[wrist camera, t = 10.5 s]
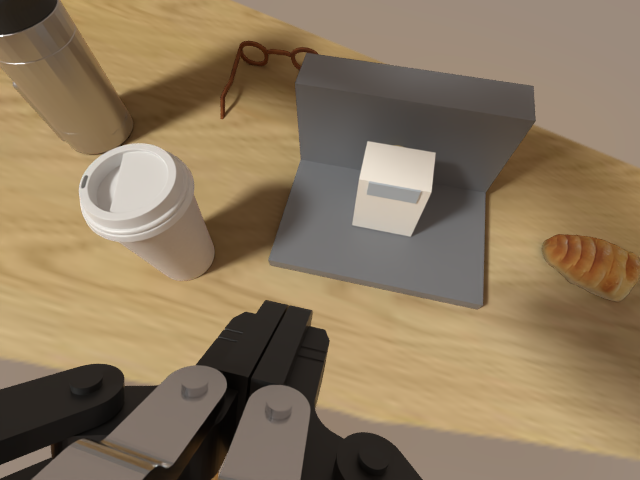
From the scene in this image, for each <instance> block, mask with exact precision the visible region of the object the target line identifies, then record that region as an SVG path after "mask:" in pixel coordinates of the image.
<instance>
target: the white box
mask: <svg viewBox="0 0 640 480" xmlns="http://www.w3.org/2000/svg"><path fill="white" fill-rule="evenodd" d="M435 154H436V153H434V152H428V151H423V150H417V149H411V148H405V147H399V146H393V145H387V144H381V143H376V142H370V141H367V146H366V150H365V155H364V159H363V164H362V168H361V173H360V177H359V183H358V190H357V196H356V203H355V209H354V216H353V223H352V225H354V226H359V227H364V228H369V229H374V230H379V231H384V232H389V233H394V234H400V235H405V236H410V237H411V235H412V233H413V231H414V229H415V227H416V224H417V222H418V220H419V218H420V216H421V214H422V212H423V209H424V207H425V205H426V203H427V201H428V199H429V197H430V194H431V192H432V182H433V173H434V164H435Z"/></svg>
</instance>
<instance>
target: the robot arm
mask: <svg viewBox="0 0 640 480" xmlns="http://www.w3.org/2000/svg"><path fill="white" fill-rule="evenodd" d="M0 67H1V68H2V69H3V70H4V72H5V73H6V74H7V75H8V76H9V77H10V78H11V79H12V81H13V86H14V88H15V89H16V90H17V91H18V92H19V93H20V94H21V96H22V97H23V98H24V99H25V100H26V101H27V102H28V103H29V104H30V106H31V107H32V108H33V109H34V110H35V111H36V112H37V113H38V114H39V116H40V117H41V118H42V119H43V120H44V121H45V122H46V123H47V124H48V126H49V127H50V128H51V129H52V130H53V131H54V132H55V133H56V134H57V136H58V137H59V138H60V139H61V140H63V141H66V142H67V143H68V144H69V145H70V146H71V147H72V148H73V149H74V150H76V151H78V152H80V153H84V154H99V153H104V152H107V151H110V150H112V149H114V148H116V147H118V146H119V145H121V144H122V143H123V142H124V141H125V140H126V139H127V138H128V137H129V135H130V134H131V131H132V129H133V120H132V117H131V115H130V114H129V112H128V110H127V109H126V107H125V106H124V104H123V102H122V101H121V99H120V97H119V96H118V94H117V92H116V91H115V89H114V87H113V86H112V84H111V82H110V81H109V79H108V77H107V76H106V74H105V73H104V71H103V69H102V68H101V66H100V64H99V63H98V61H97V60H96V58H95V56H94V55H93V53H92V51H91V50H90V48H89V47H88V45H87V43H86V42H85V40H84V38H83V37H82V35H81V33H80V32H79V30H78V29H77V27H76V25H75V24H74V22H73V21H72V19H71V17H70V16H69V14H68V12H67V11H66V9H65V7H64V6H63V4H62V3H61V1H60V0H0ZM312 313H313V311H312V310H309V309H304V308H300V307H295V306H291V305H290V306H289V305H286V304H281V303H277V302H272V301H268V300H265V301H264V303H263V304H262V306H261V307H260V309H259V310H258V312H257V313H256V314H253V313H249V312H244V313H242V314H240V315H238V316H236V317H234V318H233V319H232V320H231V321H230V322H229V324H228V325H227V326H226V327H225V330H223V331H222V332H221V334H220V335H219V337H218V338H217V339H216V340H215V341H214V343H213V344H212V345H211V346H210V348H209V349H208V350H207V351H206V353H205V354H204V355H203V356H202V358H201V359H200V360H199V361H198V363H197V364H196V365H195V366H188V367H184V368H181V369H179V370H177V371H175V372H173V373H172V374H170V375H169V376H168V377H167V378H166V379H165V380H164V381H163V382H162V383H161V384H160V385H157V386H124V375H123V373H122V372H121V370H119V369H118V368H116V367H114V366H111V365H107V364H90V365H84V366H80V367H77V368H73V369H70V370H66V371H63V372H59V373H56V374H53V375H49V376H46V377H42V378H39V379H35V380H32V381H29V382H25V383H21V384H18V385H15V386H11V387H8V388H4V389H1V390H0V465H1V464H4V463H6V462H9V461H11V460H14V459H16V458H19V457H21V456H24V455H26V454H29V453H31V452H34V451H37V450H39V449H41V448H44V447H47V446H49V445H51V454H52V458H49V459H47V460H44V461H42V462H39V463H37V464H35V465H32V466H30V467H27V468H25V469H22V470H20V471H18V472H15V473H13V474H10V475H8V476H6V477H3V478H1V479H0V480H422V479H421V477H420V476H419V475H418V473H417V472H416V471H415V470H414V468H413V467H412V466H411V465H410V463H409V462H408V461H407V460H406V458H405V457H404V456H403V454H402V453H401V452H400V451H399V450H398V449H397V447H396V446H395V445H393V444H392V443H391V442H390V441H388V440H387V439H385V438H383V437H381V436H379V435H376V434H372V433H365V432H361V433H355V434H352V435H349V436H347V437H346V438H345V439H343V438H342V437H340V436H338V435H336V434H335V433H333V432H331V431H330V430H329V429H328V428H326V427H325V426H324V425H323V424H322V422H321V421H320V420H319V418H318V416H317V414H316V411H315V408H316V404H317V399H318V395H319V391H320V387H321V383H322V378H323V372H324V367H325V362H326V357H327V352H328V346H329V338H328V336H327V333H326V331H325V330H324V329H319V328H315V327H311V320H312ZM227 453H228V454H227ZM226 455H227V456H226ZM225 457H226V459H225ZM224 459H225V462H224V464H223V467H222V469H221V472H220V475H219V477H218V474H219V469H220V468H221V465H222V463H223V461H224Z"/></svg>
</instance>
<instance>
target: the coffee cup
mask: <svg viewBox="0 0 640 480" xmlns="http://www.w3.org/2000/svg"><path fill="white" fill-rule="evenodd" d="M79 197H80V206H81V210H82V214H83V216H84V218H85V220H86V222H87V224H88V225H89V227H90V228H91V229H92V230H93V231H94V232H95V233H96V234H98V235H99V236H101V237H103V238H106V239H108V240H112V241H117V242H119V243H121V244H122V245H124V246H125V247H127V248H128V249H129V250H131V251H132V252H134V253H135V254H137V255H138V256H139V257H141V258H142V259H144V260H145V261H147V262H148V263H149V264H151V265H152V266H154V267H155V268H157V269H158V270H159V271H161V272H162V273H164V274H165V275H166V276H168V277H169V278H171V279H174V280H178V281H188V280H192V279H195V278H197V277H199V276H201V275H202V274H203V273H205V272H206V271H207V270H208V268H209V267H210V266H211V264H212V262H213V259H214V254H215V250H214V246H213V243H212V240H211V238H210V235H209V233H208V230H207V227H206V225H205V222H204V220H203V217H202V214H201V212H200V209H199V207H198V204H197V201H196V199H195V196H194V180H193V176H192V174H191V172H190V170H189V168H188V167H187V166H186V165H185V164H184V163H183V162H182V161H181V160H180V159H179V158H178V157H176V156H174V155H173V154H171V153H169V152H167V151H165V150H163V149H161V148H159V147H157V146H154V145H150V144H143V143H136V144H128V145H123V146H120V147H117V148H114V149H112V150H110V151H108V152H106V153H104V154H103V155H101V156H100V157H98V158H97V159H96V160H95V161H94V162H93V163H92V164H91V165H90V166H89V167H88V168H87V170H86V171H85V173H84V174H83V176H82V179H81V181H80V185H79Z"/></svg>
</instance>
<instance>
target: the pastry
mask: <svg viewBox="0 0 640 480" xmlns="http://www.w3.org/2000/svg"><path fill="white" fill-rule="evenodd" d="M542 252H543V256H544V259H545V261H546V262H547V263H548V264H549V265H550V266H552V267H553V268H555V269H556V270H557V271H558V272H559V273H560V274H562V275H563V276H564V277H565V278H566V279H567V280H568V281H569V282H570V283H572V284H576V285H577V286H579V287H581V288H583V289H585V290H587V291H588V292H590V293H592V294H594V295H597V296H599V297H601V298H605V299H608V300H611V301H615V302H619V301H621V300H623V299H624V298H625V297H626V296H627V295H628V294H629V293H630V291H631V289H632V287H633V286H634V285H635V284H636V283H637V282H638V279H639V276H640V260H639V258H638V256H637V255H635V254H633V253H632V252H627V251H625V250H624V249H622V248H620V247H618V246H617V245H615V244H611V243H609V242H607V241H605V240H603V239H597V238H592V237H588V236H579V235H562V234H558V235H555V236H553V237H551V238H549V239H547V240H545V241H544V243H543V245H542Z"/></svg>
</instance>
